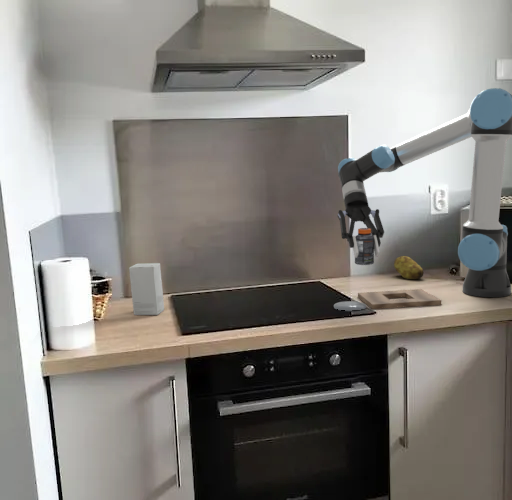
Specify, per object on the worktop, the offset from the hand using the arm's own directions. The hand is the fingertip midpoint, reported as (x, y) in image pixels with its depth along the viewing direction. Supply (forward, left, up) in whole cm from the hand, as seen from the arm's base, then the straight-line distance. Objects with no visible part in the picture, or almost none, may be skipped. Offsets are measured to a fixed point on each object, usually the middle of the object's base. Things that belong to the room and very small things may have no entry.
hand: (367, 254), depth 175 cm
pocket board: (-11, -4, -16) cm, 20 cm away
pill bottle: (0, -4, -4) cm, 5 cm away
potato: (-27, -38, -17) cm, 50 cm away
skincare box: (+69, -8, -17) cm, 71 cm away
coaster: (+6, 0, -16) cm, 17 cm away
